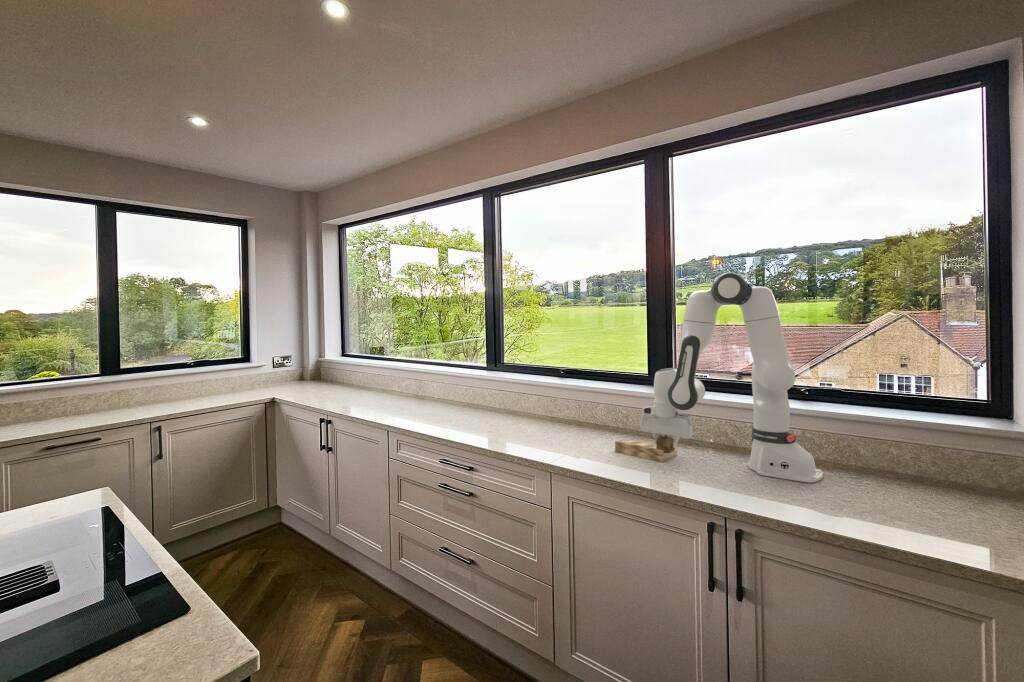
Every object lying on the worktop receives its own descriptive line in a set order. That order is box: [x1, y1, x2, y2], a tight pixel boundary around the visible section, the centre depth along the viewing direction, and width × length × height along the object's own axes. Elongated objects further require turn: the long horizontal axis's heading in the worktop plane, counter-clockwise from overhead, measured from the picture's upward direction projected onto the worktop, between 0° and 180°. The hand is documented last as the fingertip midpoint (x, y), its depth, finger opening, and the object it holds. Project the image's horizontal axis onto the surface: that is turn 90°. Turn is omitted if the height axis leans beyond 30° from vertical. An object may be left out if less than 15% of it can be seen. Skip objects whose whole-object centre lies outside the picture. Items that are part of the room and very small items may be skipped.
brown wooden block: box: [655, 434, 676, 453], centre depth 183 cm, size 5×5×6 cm
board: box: [614, 440, 678, 463], centre depth 187 cm, size 20×12×4 cm, turn 45°
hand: (665, 446), depth 183 cm, fingers closed on brown wooden block, 5 cm apart
